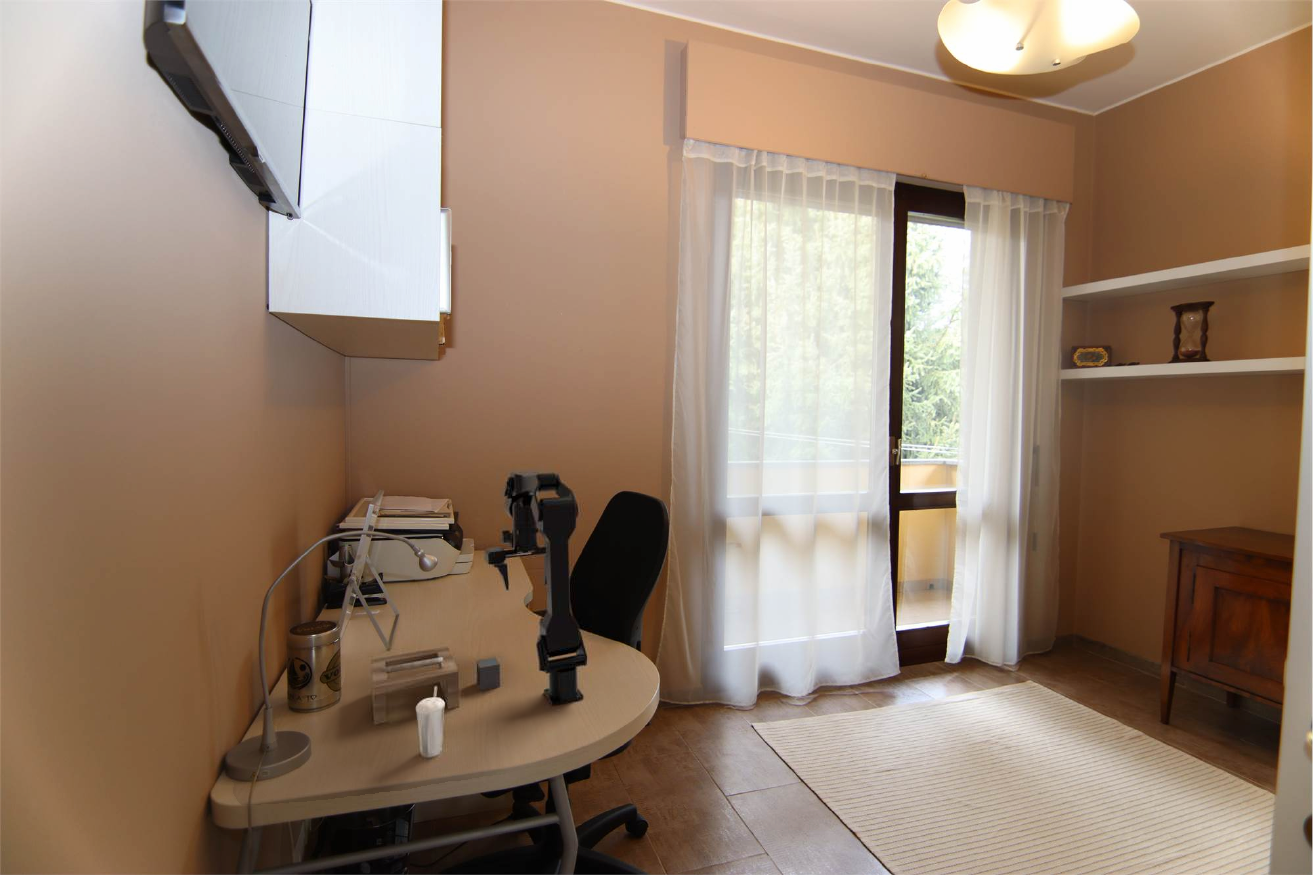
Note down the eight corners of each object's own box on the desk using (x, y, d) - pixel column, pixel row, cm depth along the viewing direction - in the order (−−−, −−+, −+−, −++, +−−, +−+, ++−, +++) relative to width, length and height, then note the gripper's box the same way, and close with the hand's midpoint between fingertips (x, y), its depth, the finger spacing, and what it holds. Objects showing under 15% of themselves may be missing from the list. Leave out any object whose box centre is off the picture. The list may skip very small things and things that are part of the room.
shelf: (459, 706, 119) (458, 668, 119) (374, 724, 112) (373, 684, 112) (448, 678, 132) (448, 643, 131) (371, 693, 125) (370, 656, 125)
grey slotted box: (500, 686, 128) (499, 664, 127) (480, 690, 126) (480, 667, 126) (496, 679, 131) (495, 657, 131) (476, 682, 129) (476, 660, 129)
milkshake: (450, 742, 106) (449, 685, 106) (440, 759, 101) (439, 700, 101) (424, 742, 106) (422, 686, 106) (413, 760, 101) (411, 701, 100)
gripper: (553, 514, 159) (553, 574, 159) (479, 521, 150) (480, 584, 151) (566, 522, 149) (567, 585, 149) (488, 529, 140) (489, 596, 141)
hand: (526, 587), depth 148 cm, fingers open, 9 cm apart
